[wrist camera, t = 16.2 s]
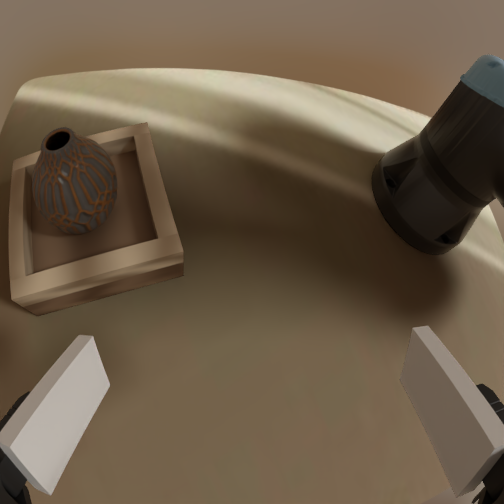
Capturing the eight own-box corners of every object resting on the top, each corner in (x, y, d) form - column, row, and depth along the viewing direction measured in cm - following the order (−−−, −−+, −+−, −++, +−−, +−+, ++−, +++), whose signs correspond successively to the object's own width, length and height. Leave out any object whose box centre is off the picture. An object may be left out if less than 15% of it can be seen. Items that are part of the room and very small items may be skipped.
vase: (36, 220, 23) (-4, 156, 15) (86, 167, 26) (66, 95, 18) (86, 262, 22) (48, 200, 14) (138, 201, 25) (127, 125, 18)
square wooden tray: (149, 156, 31) (147, 122, 27) (183, 275, 27) (183, 251, 22) (29, 189, 27) (13, 160, 22) (37, 316, 22) (11, 299, 18)
